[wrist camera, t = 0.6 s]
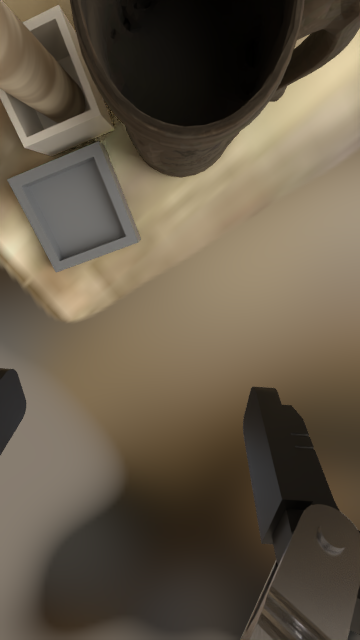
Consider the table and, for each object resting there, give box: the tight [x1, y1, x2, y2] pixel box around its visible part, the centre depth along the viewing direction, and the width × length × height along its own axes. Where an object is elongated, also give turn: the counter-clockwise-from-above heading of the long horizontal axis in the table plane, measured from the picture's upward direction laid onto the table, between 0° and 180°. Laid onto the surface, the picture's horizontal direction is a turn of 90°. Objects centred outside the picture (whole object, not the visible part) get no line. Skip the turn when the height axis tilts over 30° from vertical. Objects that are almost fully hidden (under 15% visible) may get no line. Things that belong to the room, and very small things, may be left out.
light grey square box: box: [0, 5, 115, 156], centre depth 26 cm, size 7×7×6 cm
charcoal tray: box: [7, 141, 141, 272], centre depth 32 cm, size 10×10×2 cm
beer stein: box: [70, 0, 360, 177], centre depth 21 cm, size 15×11×20 cm
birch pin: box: [0, 0, 85, 124], centre depth 21 cm, size 4×4×16 cm
